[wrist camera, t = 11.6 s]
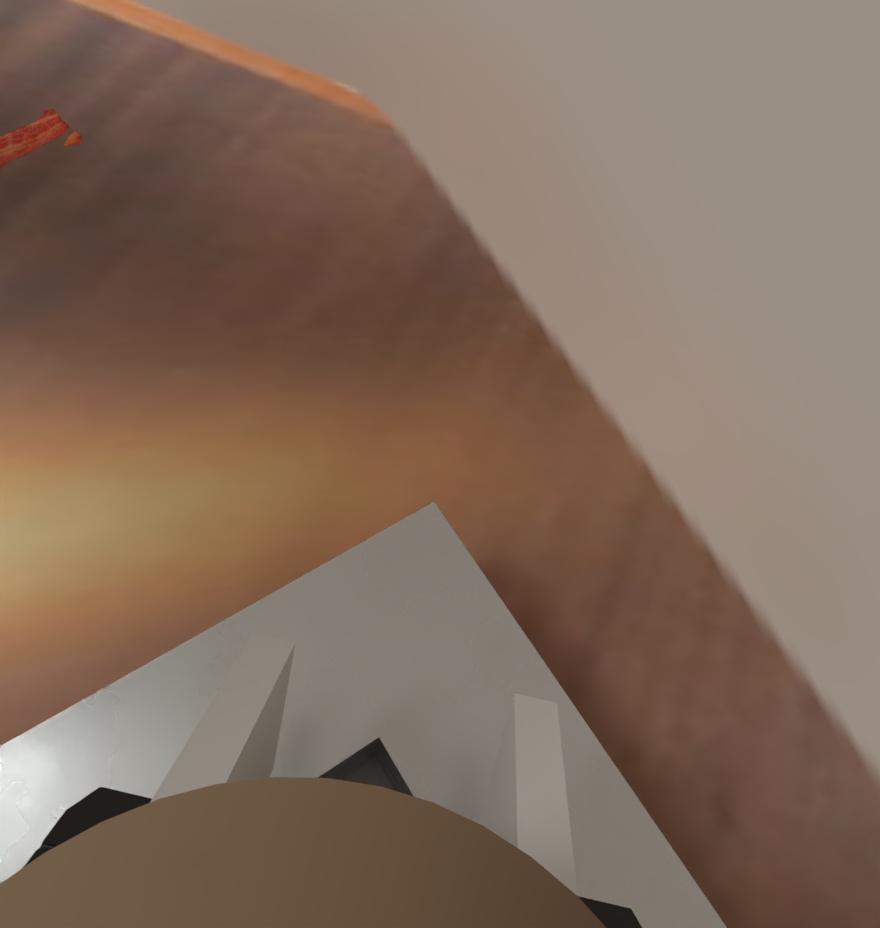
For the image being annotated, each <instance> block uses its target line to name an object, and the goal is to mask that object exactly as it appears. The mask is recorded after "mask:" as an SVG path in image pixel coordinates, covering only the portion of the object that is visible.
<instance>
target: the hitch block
mask: <svg viewBox="0 0 880 928" xmlns="http://www.w3.org/2000/svg"><path fill="white" fill-rule="evenodd" d="M253 633H257V634H261V635H266V636H270V637H274V638H279V639H283V640H287V641H292V642H296V643H295V648H294V654H293V660H292V665H291V671H290V677H289V683H288V688H287V694H286V700H285V705H284V711H283V717H282V723H281V728H280V734H279V740H278V746H277V751H276V757H275V763H274V768H273V770H272V773H271V775H270V777H292V778H330V779H337V780H343V781H349V782H356V783H362V784H368V785H375V786H381V787H384V788H388V789H391V790H394V791H397V792H401V793H404V794H407V795H410V796H414V797H417V798H420V799H423V800H427V801H430V802H433V803H435V804H438V805H440V806H442V807H444V808H446V809H448V810H450V811H452V812H455V813H457V814H459V815H461V816H463V817H465V818H467V819H470V820H472V821H474V822H476V823H478V824H479V820H480V813H481V809H482V806H483V802H484V799H485V795H486V792H487V788H488V785H489V781H490V778H491V774H492V771H493V767H494V764H495V760H496V757H497V753H498V750H499V746H500V743H501V739H502V736H503V732H504V729H505V725H506V722H507V718H508V715H509V711H510V708H511V704H512V701H513V697H514V694H515V693H516V694H521V695H525V696H529V697H533V698H538V699H542V700H546V701H551V702H555V703H557V708H558V717H559V727H560V736H561V745H562V754H563V764H564V773H565V782H566V792H567V801H568V810H569V820H570V829H571V838H572V848H573V857H574V866H575V875H576V885H577V894H578V896H580V897H584V898H588V899H592V900H597V901H601V902H605V903H609V904H614V905H618V906H622V907H626V908H631V909H632V911H633V913H634V915H635V916H636V918H637V920H638V921H639V923H640V925H641V927H642V928H727V927H726V925H725V924H724V923H723V921H722V920H721V918H720V917H719V915H718V914H717V912H716V911H715V910H714V908H713V907H712V905H711V904H710V902H709V901H708V899H707V898H706V896H705V895H704V894H703V892H702V891H701V889H700V888H699V886H698V885H697V883H696V882H695V880H694V879H693V878H692V876H691V875H690V873H689V872H688V870H687V869H686V867H685V866H684V864H683V863H682V862H681V860H680V859H679V857H678V856H677V854H676V853H675V851H674V850H673V848H672V847H671V846H670V844H669V843H668V841H667V840H666V838H665V837H664V835H663V834H662V832H661V831H660V830H659V828H658V827H657V825H656V824H655V822H654V821H653V819H652V818H651V816H650V815H649V814H648V812H647V811H646V809H645V808H644V806H643V805H642V803H641V802H640V800H639V799H638V798H637V796H636V795H635V793H634V792H633V790H632V789H631V787H630V786H629V784H628V783H627V782H626V780H625V779H624V777H623V776H622V774H621V773H620V771H619V770H618V768H617V767H616V766H615V764H614V763H613V761H612V760H611V758H610V757H609V755H608V754H607V752H606V751H605V750H604V748H603V747H602V745H601V744H600V742H599V741H598V739H597V738H596V736H595V735H594V734H593V732H592V731H591V729H590V728H589V726H588V725H587V723H586V722H585V720H584V719H583V718H582V716H581V715H580V713H579V712H578V710H577V709H576V707H575V706H574V704H573V703H572V702H571V700H570V699H569V697H568V696H567V694H566V693H565V691H564V690H563V688H562V687H561V686H560V684H559V683H558V681H557V680H556V678H555V677H554V675H553V674H552V673H551V671H550V670H549V668H548V667H547V665H546V664H545V662H544V661H543V659H542V658H541V657H540V655H539V654H538V652H537V651H536V649H535V648H534V646H533V645H532V643H531V642H530V641H529V639H528V638H527V636H526V635H525V633H524V632H523V630H522V629H521V627H520V626H519V625H518V623H517V622H516V620H515V619H514V617H513V616H512V614H511V613H510V611H509V610H508V609H507V607H506V606H505V604H504V603H503V601H502V600H501V598H500V597H499V595H498V594H497V593H496V591H495V590H494V588H493V587H492V585H491V584H490V582H489V581H488V579H487V578H486V577H485V575H484V574H483V572H482V571H481V569H480V568H479V566H478V565H477V563H476V562H475V561H474V559H473V558H472V556H471V555H470V553H469V552H468V550H467V549H466V547H465V546H464V545H463V543H462V542H461V540H460V539H459V537H458V536H457V534H456V533H455V531H454V530H453V529H452V527H451V526H450V524H449V523H448V521H447V520H446V518H445V517H444V515H443V514H442V513H441V511H440V510H439V508H438V507H437V505H436V504H435V502H432V503H430V504H429V505H427V506H425V507H423V508H422V509H420V510H418V511H416V512H414V513H413V514H411V515H409V516H407V517H406V518H404V519H402V520H400V521H399V522H397V523H395V524H393V525H391V526H390V527H388V528H386V529H384V530H383V531H381V532H379V533H377V534H375V535H374V536H372V537H370V538H368V539H367V540H365V541H363V542H361V543H360V544H358V545H356V546H354V547H352V548H351V549H349V550H347V551H345V552H344V553H342V554H340V555H338V556H337V557H335V558H333V559H331V560H329V561H328V562H326V563H324V564H322V565H321V566H319V567H317V568H315V569H313V570H312V571H310V572H308V573H306V574H305V575H303V576H301V577H299V578H298V579H296V580H294V581H292V582H290V583H289V584H287V585H285V586H283V587H282V588H280V589H278V590H276V591H274V592H273V593H271V594H269V595H267V596H266V597H264V598H262V599H260V600H259V601H257V602H255V603H253V604H251V605H250V606H248V607H246V608H244V609H243V610H241V611H239V612H237V613H235V614H234V615H232V616H230V617H228V618H227V619H225V620H223V621H221V622H220V623H218V624H216V625H214V626H212V627H211V628H209V629H207V630H205V631H204V632H202V633H200V634H198V635H196V636H195V637H193V638H191V639H189V640H188V641H186V642H184V643H182V644H181V645H179V646H177V647H175V648H173V649H172V650H170V651H168V652H166V653H165V654H163V655H161V656H159V657H158V658H156V659H154V660H152V661H150V662H149V663H147V664H145V665H143V666H142V667H140V668H138V669H136V670H134V671H133V672H131V673H129V674H127V675H126V676H124V677H122V678H120V679H119V680H117V681H115V682H113V683H111V684H110V685H108V686H106V687H104V688H103V689H101V690H99V691H97V692H95V693H94V694H92V695H90V696H88V697H87V698H85V699H83V700H81V701H80V702H78V703H76V704H74V705H72V706H71V707H69V708H67V709H65V710H64V711H62V712H60V713H58V714H56V715H55V716H53V717H51V718H49V719H48V720H46V721H44V722H42V723H41V724H39V725H37V726H35V727H33V728H32V729H30V730H28V731H26V732H25V733H23V734H21V735H19V736H17V737H16V738H14V739H12V740H10V741H9V742H7V743H5V744H3V745H2V746H0V884H1V883H2V882H3V881H5V880H6V879H8V878H9V877H11V876H12V875H13V874H15V873H16V872H18V871H19V870H21V869H22V868H23V867H24V866H25V864H26V863H27V862H28V860H29V859H30V858H31V856H32V855H33V854H34V852H35V851H36V850H37V848H40V847H41V845H42V842H43V840H44V839H45V838H46V836H47V835H48V834H49V832H50V831H51V830H52V828H53V827H54V826H55V824H56V823H57V822H58V820H59V819H60V817H61V816H62V815H63V813H64V812H65V811H66V810H67V809H68V808H70V807H71V806H73V805H74V804H76V803H77V802H79V801H80V800H82V799H83V798H84V797H86V796H87V795H89V794H90V793H92V792H93V791H95V790H96V789H98V788H99V787H104V788H109V789H113V790H117V791H121V792H126V793H130V794H134V795H139V796H143V797H147V798H151V799H152V798H153V797H154V795H155V793H156V792H157V790H158V788H159V787H160V785H161V784H162V782H163V780H164V779H165V777H166V775H167V774H168V772H169V770H170V769H171V767H172V766H173V764H174V762H175V761H176V759H177V757H178V756H179V754H180V752H181V751H182V749H183V747H184V746H185V744H186V743H187V741H188V739H189V738H190V736H191V734H192V733H193V731H194V729H195V728H196V726H197V725H198V723H199V721H200V720H201V718H202V716H203V715H204V713H205V711H206V710H207V708H208V707H209V705H210V703H211V702H212V700H213V698H214V697H215V695H216V693H217V692H218V690H219V688H220V687H221V685H222V684H223V682H224V680H225V679H226V677H227V675H228V674H229V672H230V670H231V669H232V667H233V666H234V664H235V662H236V661H237V659H238V657H239V656H240V654H241V652H242V651H243V649H244V648H245V646H246V644H247V643H248V641H249V639H250V638H251V636H252V634H253ZM270 777H269V778H270Z"/></svg>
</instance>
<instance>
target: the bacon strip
mask: <svg viewBox="0 0 880 928" xmlns="http://www.w3.org/2000/svg"><path fill="white" fill-rule="evenodd" d="M68 128H69V127H68V126H67V125H66V124H65V123H64V122H61V118H60V117H59V115H58V114H57V113H55V111H54V110H53V109H52V110H46V111H44V115H43V116H42V117H40V118H39V119H38V120H37V121H35V122H34V123H31V124H29V125H27V126H24V127H22V128H20V129H17V130H15V131H13V132H10V133H8V134H6V135H4V136H1V137H0V167H1V166H3V165H4V164H6V163H7V162H9V161H10V160H12V159H14V158H17V157H20V156H22V155H25V154H27V153H29V152H31V151H33V150H35V149H36V148H38V147H40V146H42V145H43V144H45V143H47V142H49V141H50V140H52V139H54V138H56V137H58V136H60V135H62V134H63V133H64V132H65V131H66V130H67V129H68ZM80 143H81V135H80V134H78V133H77V132H72V134H71V135H70V136H69V137H68V138H67V140H66V141H65V146H69V145H75V144H80Z"/></svg>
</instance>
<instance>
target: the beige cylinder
mask: <svg viewBox="0 0 880 928" xmlns="http://www.w3.org/2000/svg"><path fill="white" fill-rule="evenodd" d="M0 928H606V927H605V926H604V924H603V923H602V922H601V921H600V920H599V919H598V918H597V917H596V916H595V915H594V914H593V912H592V911H591V910H590V909H589V908H588V907H587V906H586V905H585V904H584V903H583V902H582V900H581V899H580V898H579V897H578V896H577V895H576V894H574V893H573V892H572V891H571V890H570V889H569V888H567V887H566V886H565V885H564V884H563V883H561V882H560V881H559V880H558V879H557V878H556V877H554V876H553V875H552V874H551V873H550V872H549V871H547V870H546V869H545V868H544V867H543V866H541V865H540V864H539V863H538V862H537V861H536V860H534V859H533V858H532V857H531V856H529V855H527V854H526V853H524V852H523V851H521V850H520V849H518V848H517V847H515V846H514V845H512V844H510V843H509V842H507V841H506V840H504V839H503V838H501V837H500V836H498V835H497V834H495V833H494V832H492V831H490V830H489V829H487V828H486V827H484V826H482V825H480V824H478V823H476V822H474V821H472V820H470V819H467V818H465V817H463V816H461V815H459V814H457V813H455V812H452V811H450V810H448V809H446V808H444V807H442V806H440V805H438V804H435V803H433V802H430V801H427V800H423V799H420V798H417V797H414V796H410V795H407V794H404V793H401V792H397V791H394V790H391V789H388V788H384V787H381V786H375V785H368V784H362V783H356V782H349V781H343V780H337V779H330V778H292V777H270V778H262V779H254V780H245V781H237V782H229V783H221V784H215V785H211V786H207V787H203V788H199V789H195V790H191V791H188V792H184V793H180V794H176V795H172V796H168V797H165V798H161V799H158V800H155V801H153V802H150V803H148V804H145V805H143V806H140V807H138V808H135V809H133V810H130V811H128V812H125V813H123V814H120V815H118V816H115V817H113V818H110V819H108V820H105V821H103V822H100V823H99V824H97V825H95V826H93V827H91V828H89V829H88V830H86V831H84V832H82V833H80V834H78V835H77V836H75V837H73V838H71V839H69V840H67V841H66V842H64V843H62V844H60V845H58V846H56V847H55V848H53V849H51V850H49V851H47V852H45V853H43V854H42V855H41V856H39V857H38V858H36V859H35V860H33V861H32V862H31V863H29V864H28V865H26V866H25V867H23V868H22V869H21V870H19V871H18V872H16V873H15V874H13V875H12V876H11V877H9V878H8V879H6V880H5V881H3V882H2V883H1V884H0Z"/></svg>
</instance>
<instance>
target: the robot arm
mask: <svg viewBox="0 0 880 928" xmlns="http://www.w3.org/2000/svg"><path fill="white" fill-rule="evenodd" d="M295 643H296V642H292V641H287V640H283V639H279V638H274V637H270V636H266V635H261V634H257V633H253V634H252V636H251V638H250V639H249V641H248V643H247V644H246V646H245V648H244V649H243V651H242V652H241V654H240V656H239V657H238V659H237V661H236V662H235V664H234V666H233V667H232V669H231V670H230V672H229V674H228V675H227V677H226V679H225V680H224V682H223V684H222V685H221V687H220V688H219V690H218V692H217V693H216V695H215V697H214V698H213V700H212V702H211V703H210V705H209V707H208V708H207V710H206V711H205V713H204V715H203V716H202V718H201V720H200V721H199V723H198V725H197V726H196V728H195V729H194V731H193V733H192V734H191V736H190V738H189V739H188V741H187V743H186V744H185V746H184V747H183V749H182V751H181V752H180V754H179V756H178V757H177V759H176V761H175V762H174V764H173V766H172V767H171V769H170V770H169V772H168V774H167V775H166V777H165V779H164V780H163V782H162V784H161V785H160V787H159V788H158V790H157V792H156V793H155V795H154V797H153V798H152V799H151V798H147V797H143V796H139V795H134V794H130V793H126V792H121V791H117V790H113V789H109V788H104V787H99V788H98V789H96V790H95V791H93V792H92V793H90V794H89V795H87V796H86V797H84V798H83V799H82V800H80V801H79V802H77V803H76V804H74V805H73V806H71V807H70V808H68V809H67V810H66V811H65V812H64V813H63V815H62V816H61V817H60V819H59V820H58V822H57V823H56V824H55V826H54V827H53V828H52V830H51V831H50V832H49V834H48V835H47V836H46V838H45V839H44V840H43V842H42V845H41V847H40V848H37V850H36V851H35V852H34V854H33V855H32V856H31V858H30V859H29V860H28V862H27V863H26V864H25V866H26V865H28V864H29V863H31V862H32V861H33V860H35V859H36V858H38V857H39V856H41V855H42V854H43V853H45V852H47V851H49V850H51V849H53V848H55V847H56V846H58V845H60V844H62V843H64V842H66V841H67V840H69V839H71V838H73V837H75V836H77V835H78V834H80V833H82V832H84V831H86V830H88V829H89V828H91V827H93V826H95V825H97V824H99V823H100V822H103V821H105V820H108V819H110V818H113V817H115V816H118V815H120V814H123V813H125V812H128V811H130V810H133V809H135V808H138V807H140V806H143V805H145V804H148V803H150V802H153V801H155V800H158V799H161V798H165V797H168V796H172V795H176V794H180V793H184V792H188V791H191V790H195V789H199V788H203V787H207V786H211V785H215V784H221V783H229V782H237V781H245V780H254V779H262V778H269V777H270V775H271V773H272V770H273V768H274V763H275V757H276V751H277V746H278V740H279V734H280V728H281V723H282V717H283V711H284V705H285V700H286V694H287V688H288V683H289V677H290V671H291V665H292V660H293V654H294V648H295ZM479 824H480V825H482V826H484V827H486V828H487V829H489V830H490V831H492V832H494V833H495V834H497V835H498V836H500V837H501V838H503V839H504V840H506V841H507V842H509V843H510V844H512V845H514V846H515V847H517V848H518V849H520V850H521V851H523V852H524V853H526V854H527V855H529V856H531V857H532V858H533V859H534V860H536V861H537V862H538V863H539V864H540V865H541V866H543V867H544V868H545V869H546V870H547V871H549V872H550V873H551V874H552V875H553V876H554V877H556V878H557V879H558V880H559V881H560V882H561V883H563V884H564V885H565V886H566V887H567V888H569V889H570V890H571V891H572V892H573V893H574V894H576V895H577V896H578V894H577V885H576V875H575V866H574V857H573V848H572V838H571V829H570V820H569V810H568V801H567V792H566V782H565V773H564V764H563V754H562V745H561V736H560V727H559V717H558V708H557V703H555V702H551V701H546V700H542V699H538V698H533V697H529V696H525V695H521V694H516V693H515V694H514V697H513V701H512V704H511V708H510V711H509V715H508V718H507V722H506V725H505V729H504V732H503V736H502V739H501V743H500V746H499V750H498V753H497V757H496V760H495V764H494V767H493V771H492V774H491V778H490V781H489V785H488V788H487V792H486V795H485V799H484V802H483V806H482V809H481V813H480V820H479ZM25 866H24V867H25ZM578 897H579V898H580V899H581V900H582V902H583V903H584V904H585V905H586V906H587V907H588V908H589V909H590V910H591V911H592V912H593V914H594V915H595V916H596V917H597V918H598V919H599V920H600V921H601V922H602V923H603V924H604V926H605V927H606V928H642V927H641V925H640V923H639V921H638V920H637V918H636V916H635V915H634V913H633V911H632V909H631V908H626V907H622V906H618V905H614V904H609V903H605V902H601V901H597V900H592V899H588V898H584V897H580V896H578Z"/></svg>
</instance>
